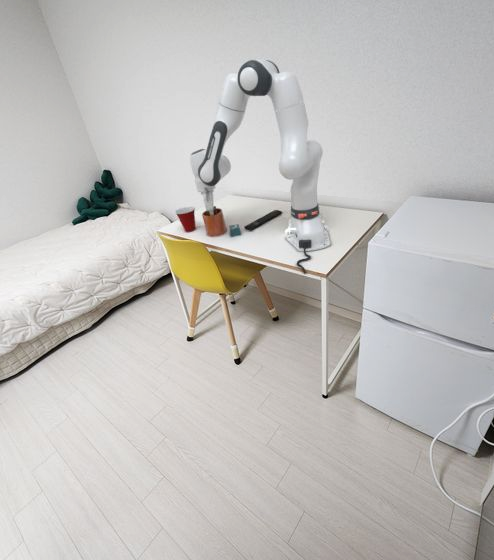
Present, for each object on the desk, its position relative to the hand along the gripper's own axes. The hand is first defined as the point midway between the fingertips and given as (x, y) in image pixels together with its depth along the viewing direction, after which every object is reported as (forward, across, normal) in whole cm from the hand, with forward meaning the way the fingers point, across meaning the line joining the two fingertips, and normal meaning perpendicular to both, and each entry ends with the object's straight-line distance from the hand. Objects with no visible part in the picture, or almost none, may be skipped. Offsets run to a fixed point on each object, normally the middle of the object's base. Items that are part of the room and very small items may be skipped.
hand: (212, 212), depth 155 cm
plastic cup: (+11, +10, +14) cm, 21 cm away
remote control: (+11, +2, -26) cm, 28 cm away
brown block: (+2, 0, 0) cm, 2 cm away
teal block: (+11, -7, -10) cm, 16 cm away
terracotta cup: (+11, 0, 0) cm, 11 cm away
